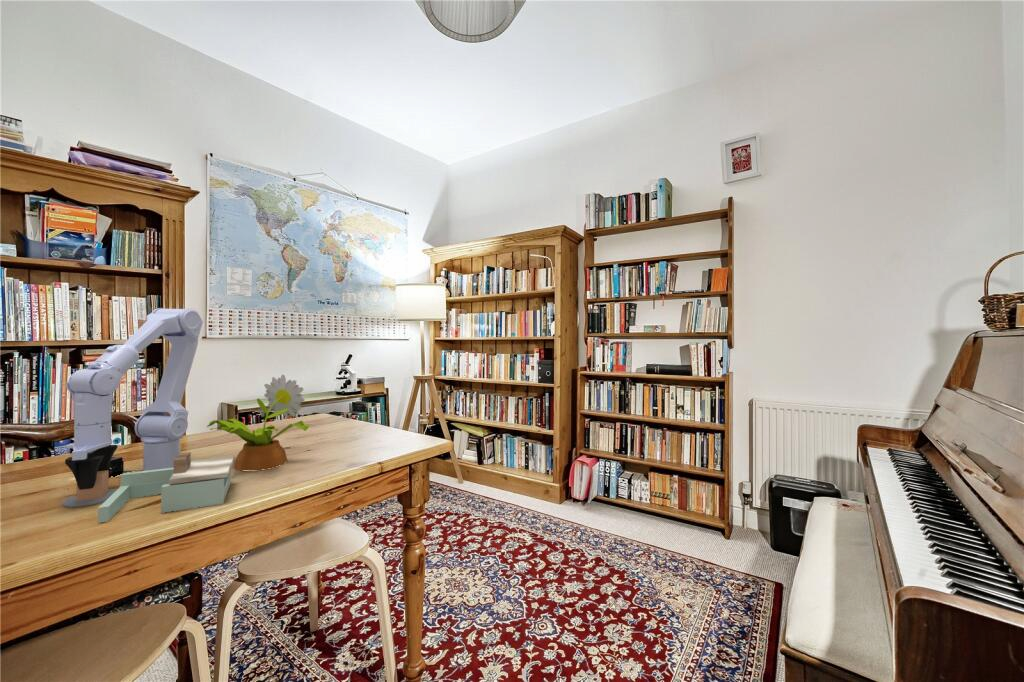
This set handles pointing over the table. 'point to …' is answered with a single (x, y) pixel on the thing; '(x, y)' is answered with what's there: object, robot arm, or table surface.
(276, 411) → the decorative plant
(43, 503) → the table surface
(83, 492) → the block
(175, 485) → the sage green u-shaped tray
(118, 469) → the black small block
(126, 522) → the table surface
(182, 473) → the lid
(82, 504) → the mat
